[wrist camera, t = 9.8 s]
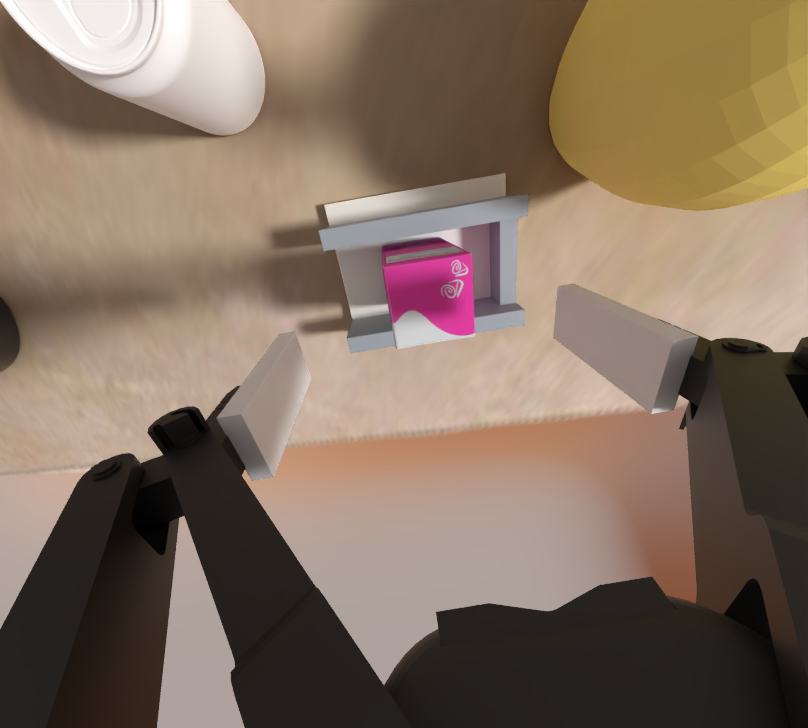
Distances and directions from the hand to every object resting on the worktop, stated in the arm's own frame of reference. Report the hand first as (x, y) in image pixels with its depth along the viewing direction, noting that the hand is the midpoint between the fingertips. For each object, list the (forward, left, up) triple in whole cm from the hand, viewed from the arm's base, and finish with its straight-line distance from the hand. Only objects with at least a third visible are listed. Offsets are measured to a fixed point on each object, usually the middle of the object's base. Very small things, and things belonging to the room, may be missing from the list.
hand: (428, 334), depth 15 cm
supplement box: (+1, 0, -16) cm, 16 cm away
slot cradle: (+1, 0, -17) cm, 17 cm away
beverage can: (-13, +17, -18) cm, 27 cm away
